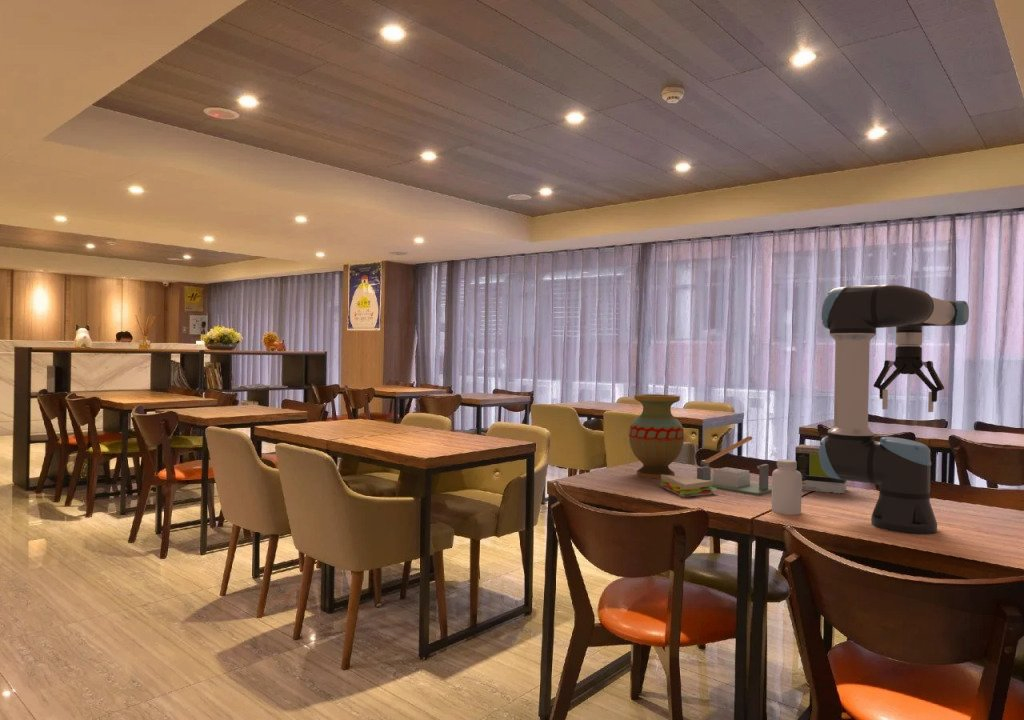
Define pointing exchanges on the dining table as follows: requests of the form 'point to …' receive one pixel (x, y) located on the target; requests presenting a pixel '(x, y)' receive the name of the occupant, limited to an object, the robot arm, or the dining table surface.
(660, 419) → the vase
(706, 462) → the wooden stick
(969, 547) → the dining table surface
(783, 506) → the pill bottle
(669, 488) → the sandwich
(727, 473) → the heatsink board
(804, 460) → the tea box
